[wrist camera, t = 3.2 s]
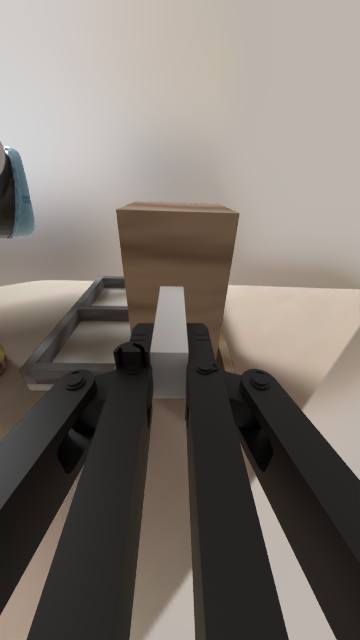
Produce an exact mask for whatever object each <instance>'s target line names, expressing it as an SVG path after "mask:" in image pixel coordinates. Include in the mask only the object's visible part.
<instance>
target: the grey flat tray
mask: <svg viewBox="0 0 360 640" xmlns="http://www.w3.org/2000/svg"><path fill="white" fill-rule="evenodd" d="M130 337H131V332H130V323H129V315H128V306H127V298H126V289H125V281H124V277H114V276H99V277H98V278H97V279H96V280H95V281H94V282H93V284H92V285H91V286H90V287H89V288H88V289H87V291H86V292H85V293H84V294H83V295H82V297H81V298H80V299H79V300H78V301H77V302H76V304H75V305H74V306H73V307H72V308H71V310H70V311H69V312H68V313H67V314H66V315H65V317H64V318H63V319H62V320H61V321H60V322H59V324H58V325H57V326H56V327H55V328H54V330H53V331H52V332H51V333H50V334H49V335H48V337H47V338H46V339H45V340H44V341H43V342H42V344H41V345H40V346H39V347H38V348H37V350H36V351H35V352H34V353H33V354H32V355H31V357H30V358H29V359H28V360H27V361H26V363H25V364H24V365H23V366H22V367H21V368H20V370H19V371H20V372H21V374H22V376H23V378H24V380H25V382H26V384H27V386H28V388H29V390H30V391H49V390H50V389H51V387H52V386H53V385H54V384H55V383H56V382H57V381H58V380H59V379H60V378H61V377H62V376H64V375H65V374H67V373H69V372H71V371H74V370H78V369H86V370H89V371H91V372H92V373H93V375H94V376H97V375H101V374H105V373H108V372H111V371H113V370H115V369H116V365H115V360H114V354H113V351H114V350H115V348H116V347H118V346H119V345H120V344H123V343H125V342H129V341H130ZM216 362H217V363H218V364H219V365H220V367H221V368H222V369H224V370H225V371H227V372H230V373H234V374H235V372H236V371H235V368H234V365H233V362H232V359H231V356H230V353H229V350H228V346H227V343H226V340H225V337H224V334H223V331H222V328H221V332H220V338H219V344H218V350H217V357H216Z"/></svg>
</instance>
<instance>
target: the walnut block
mask: <svg viewBox="0 0 360 640" xmlns="http://www.w3.org/2000/svg"><path fill="white" fill-rule="evenodd" d="M116 213H117V222H118V229H119V238H120V247H121V255H122V264H123V272H124V281H125V289H126V298H127V306H128V315H129V323H130V332H131V334H132V330H133V328H134V327H135V326H136V325H137V324H138V323H155V318H156V311H157V305H158V299H159V292H160V286H175V287H183V288H184V301H185V314H186V323H203V324H204V325H205V326H206V327H207V328H208V330H209V336H210V339H211V343H212V348H213V352H214V356H215V360H216V357H217V350H218V344H219V338H220V332H221V325H222V319H223V313H224V307H225V301H226V294H227V288H228V282H229V276H230V269H231V263H232V257H233V251H234V244H235V238H236V232H237V226H238V219H239V213H238V212H235V211H233V210H231V209H228V208H226V207H224V206H222V205H219V204H197V203H165V202H164V203H163V202H134V203H131V204H129V205H126V206H124V207H121V208H119V209H117V210H116Z"/></svg>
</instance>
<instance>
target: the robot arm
mask: <svg viewBox="0 0 360 640" xmlns="http://www.w3.org/2000/svg"><path fill="white" fill-rule="evenodd" d="M34 230H35V220H34V215H33V209H32V204H31V200H30V195H29V190H28V185H27V181H26V176H25V172H24V168H23V164H22V160H21V157H20V155H19V153H18V152H17V151H16V150H14V149H12V148H9V147H7V146H3V145H2V144H1V142H0V238H9V239H11V238H13V237H18V236H27V235H30V234H32V233H33V232H34ZM113 354H114V360H115V365H116V369H115V370H113V371H111V372H108V373H105V374H101V375H97V376H94V375H93V373H92V372H91V371H89V370H86V369H78V370H74V371H71V372H69V373H67V374H65V375H64V376H62V377H61V378H60V379H59V380H58V381H57V382H56V383H55V384H54V385H53V386H52V387H51V389H50V390H49V391H48V392H47V393H46V394H45V395H44V396H43V397H42V398H41V399H40V400H39V401H38V402H37V404H36V405H35V406H34V407H33V408H32V409H31V410H30V411H29V412H28V413H27V414H26V415H25V416H24V417H23V419H22V420H21V421H20V422H19V423H18V424H17V425H16V426H15V427H14V428H13V429H12V430H11V431H10V432H9V434H8V435H7V436H6V437H5V438H4V439H3V440H2V441H1V442H0V615H1V613H2V611H3V609H4V608H5V606H6V604H7V602H8V600H9V599H10V597H11V595H12V593H13V591H14V590H15V588H16V586H17V584H18V582H19V580H20V579H21V577H22V575H23V573H24V571H25V570H26V568H27V566H28V564H29V562H30V561H31V559H32V557H33V555H34V553H35V552H36V550H37V548H38V546H39V544H40V543H41V541H42V539H43V537H44V535H45V534H46V532H47V530H48V528H49V526H50V525H51V523H52V521H53V519H54V517H55V515H56V514H57V512H58V510H59V508H60V506H61V505H62V503H63V501H64V499H65V497H66V496H67V494H68V492H69V490H70V488H71V487H72V485H73V483H74V481H75V479H76V478H77V476H78V474H79V472H80V470H81V469H82V467H83V465H84V467H83V470H82V473H81V476H80V479H79V482H78V485H77V488H76V491H75V494H74V497H73V500H72V503H71V506H70V509H69V512H68V515H67V518H66V522H65V525H64V528H63V531H62V534H61V537H60V540H59V543H58V546H57V549H56V552H55V555H54V558H53V561H52V564H51V567H50V570H49V573H48V576H47V579H46V582H45V585H44V588H43V591H42V594H41V598H40V601H39V604H38V607H37V610H36V613H35V616H34V619H33V622H32V625H31V628H30V631H29V634H28V637H27V640H129V637H130V627H131V617H132V607H133V597H134V588H135V578H136V568H137V558H138V548H139V538H140V528H141V519H142V509H143V499H144V489H145V479H146V469H147V460H148V450H149V440H150V430H151V420H152V410H153V409H152V398H166V399H186V413H185V420H186V428H187V452H188V475H189V499H190V523H191V547H192V570H193V592H194V593H193V594H194V616H195V639H196V640H289V639H288V635H287V631H286V627H285V623H284V619H283V615H282V611H281V607H280V603H279V599H278V595H277V591H276V587H275V583H274V579H273V575H272V571H271V567H270V563H269V559H268V555H267V551H266V547H265V543H264V539H263V535H262V530H261V526H260V523H259V518H258V515H257V511H256V506H255V502H254V498H253V495H252V491H251V486H250V482H249V478H248V474H247V470H246V466H245V462H244V458H243V454H242V450H241V446H240V443H241V445H242V447H243V449H244V452H245V454H246V456H247V458H248V460H249V462H250V464H251V466H252V468H253V470H254V472H255V474H256V476H257V478H258V480H259V482H260V484H261V486H262V488H263V490H264V492H265V494H266V496H267V498H268V500H269V502H270V504H271V507H272V509H273V511H274V513H275V515H276V517H277V519H278V521H279V522H280V525H281V527H282V529H283V531H284V533H285V535H286V537H287V539H288V541H289V543H290V545H291V547H292V550H293V552H294V553H295V556H296V558H297V560H298V562H299V564H300V566H301V568H302V570H303V572H304V574H305V576H306V578H307V580H308V582H309V584H310V586H311V588H312V590H313V592H314V594H315V596H316V599H317V601H318V603H319V605H320V607H321V609H322V611H323V613H324V614H325V617H326V619H327V621H328V623H329V625H330V627H331V629H332V631H333V633H334V635H335V637H336V639H337V640H360V480H359V479H358V478H357V477H356V475H355V474H354V473H353V472H352V470H351V469H350V468H349V467H348V466H347V465H346V463H345V462H344V461H343V460H342V458H341V457H340V456H339V455H338V454H337V453H336V451H335V450H334V449H333V448H332V447H331V446H330V444H329V443H328V442H327V441H326V439H325V438H324V437H323V436H322V435H321V434H320V432H319V431H318V430H317V429H316V427H315V426H314V425H313V424H312V423H311V421H310V420H309V419H308V418H307V417H306V415H305V414H304V413H303V412H302V411H301V409H300V408H299V407H298V406H297V405H296V403H295V402H294V401H293V400H292V399H291V397H290V396H289V395H288V394H287V393H286V391H285V390H284V389H283V388H282V387H281V385H280V384H279V383H278V382H277V381H276V379H275V378H274V377H272V376H271V375H270V374H269V373H267V372H265V371H262V370H258V369H250V370H247V371H245V372H244V373H243V374H242V376H241V375H238V374H234V373H230V372H227V371H225V370H224V369H222V368H221V367H220V365H219V364H218V363H217V362H216V360H215V356H214V352H213V348H212V343H211V339H210V336H209V330H208V328H207V327H206V326H205V325H204V324H203V323H186V314H185V301H184V288H183V287H175V286H160V292H159V299H158V305H157V311H156V318H155V323H138V324H137V325H136V326H135V327H134V328H133V330H132V334H131V337H130V341H129V342H125V343H123V344H120V345H119V346H118V347H116V348H115V350H114V351H113ZM239 441H240V442H239ZM84 463H85V464H84Z"/></svg>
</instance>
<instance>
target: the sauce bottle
mask: <svg viewBox="0 0 360 640" xmlns="http://www.w3.org/2000/svg"><path fill="white" fill-rule="evenodd" d="M6 364H7V356H6V355H5V352H4V349H3V347H2V345H1V343H0V374H1V373H2V372H3V370H4V369H5V366H6Z"/></svg>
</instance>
